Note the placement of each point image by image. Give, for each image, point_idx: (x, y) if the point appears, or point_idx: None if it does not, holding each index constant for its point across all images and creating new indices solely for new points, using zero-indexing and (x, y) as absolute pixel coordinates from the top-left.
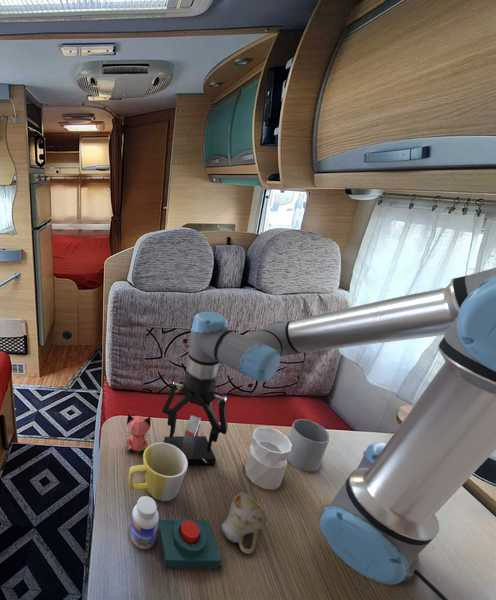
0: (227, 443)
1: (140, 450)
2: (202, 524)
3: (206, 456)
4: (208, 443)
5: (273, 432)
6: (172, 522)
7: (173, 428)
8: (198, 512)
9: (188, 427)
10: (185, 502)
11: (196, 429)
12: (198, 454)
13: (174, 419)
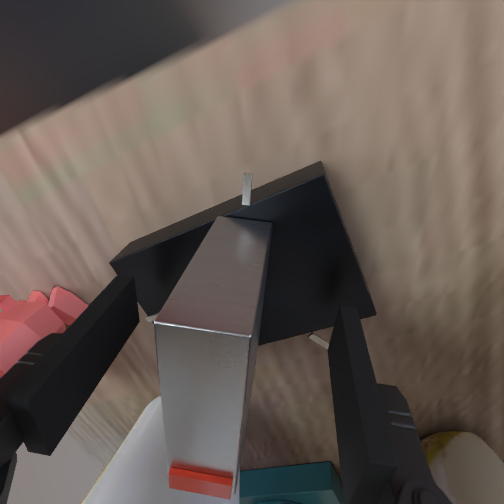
0: (473, 102)
1: (69, 324)
2: (317, 497)
3: (329, 316)
4: (334, 402)
5: None
6: (244, 500)
7: (102, 376)
8: (307, 438)
9: (176, 444)
10: (269, 424)
11: (236, 448)
12: (289, 315)
13: (48, 454)
